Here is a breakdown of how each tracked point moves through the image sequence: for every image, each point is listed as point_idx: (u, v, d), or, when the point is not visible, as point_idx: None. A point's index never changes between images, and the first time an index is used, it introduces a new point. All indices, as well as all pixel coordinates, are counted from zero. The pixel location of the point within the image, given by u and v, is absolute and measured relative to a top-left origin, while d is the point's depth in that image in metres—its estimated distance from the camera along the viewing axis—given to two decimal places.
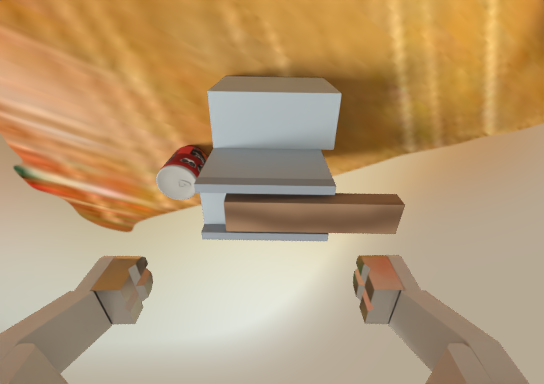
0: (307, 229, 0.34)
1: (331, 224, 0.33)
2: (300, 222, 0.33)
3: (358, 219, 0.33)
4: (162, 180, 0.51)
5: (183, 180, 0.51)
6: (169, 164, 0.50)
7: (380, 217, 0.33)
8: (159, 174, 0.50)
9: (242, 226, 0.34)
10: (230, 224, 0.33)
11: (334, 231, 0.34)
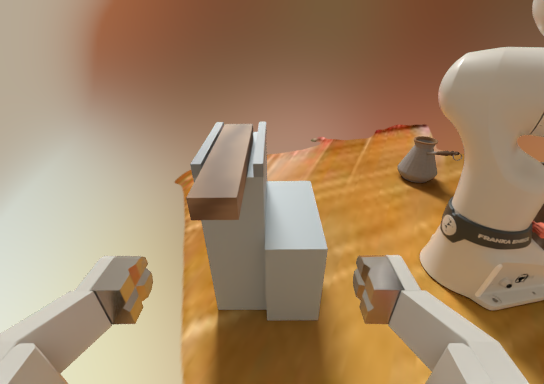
0: (215, 149, 0.33)
1: (217, 158, 0.31)
2: (225, 145, 0.34)
3: (221, 171, 0.28)
4: None
5: None
6: None
7: (219, 183, 0.25)
8: None
9: (228, 128, 0.40)
10: (231, 125, 0.42)
11: (208, 160, 0.30)
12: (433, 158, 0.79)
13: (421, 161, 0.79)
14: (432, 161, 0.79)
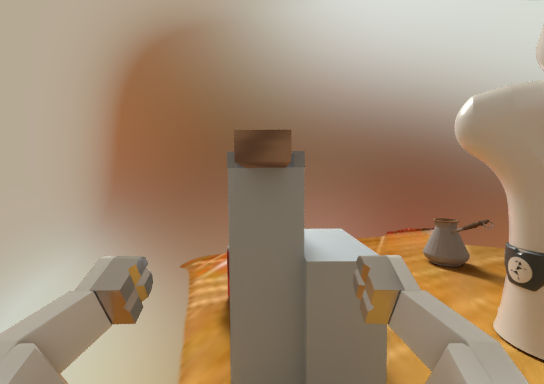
0: None
1: None
2: None
3: None
4: None
5: None
6: None
7: None
8: None
9: None
10: None
11: None
12: (460, 238, 0.75)
13: (448, 241, 0.74)
14: (460, 240, 0.74)
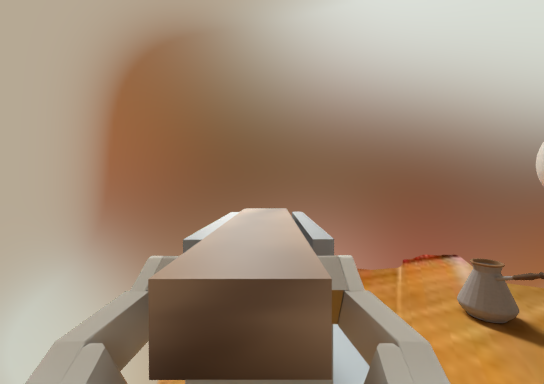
0: (235, 220, 0.18)
1: (242, 227, 0.15)
2: (252, 218, 0.19)
3: (255, 237, 0.12)
4: None
5: None
6: None
7: (256, 253, 0.09)
8: None
9: (250, 210, 0.26)
10: None
11: (222, 228, 0.14)
12: (506, 286, 0.60)
13: (492, 290, 0.59)
14: (506, 290, 0.59)
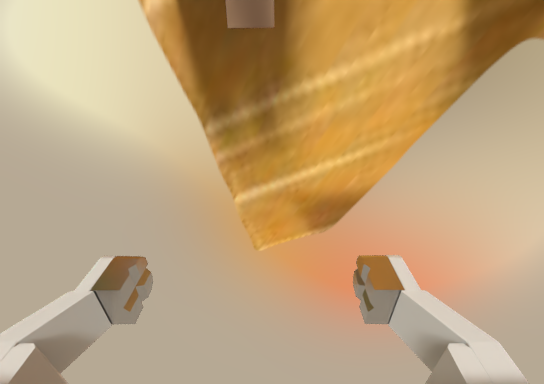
0: None
1: None
2: None
3: None
4: None
5: None
6: None
7: None
8: None
9: None
10: None
11: None
12: None
13: None
14: None
